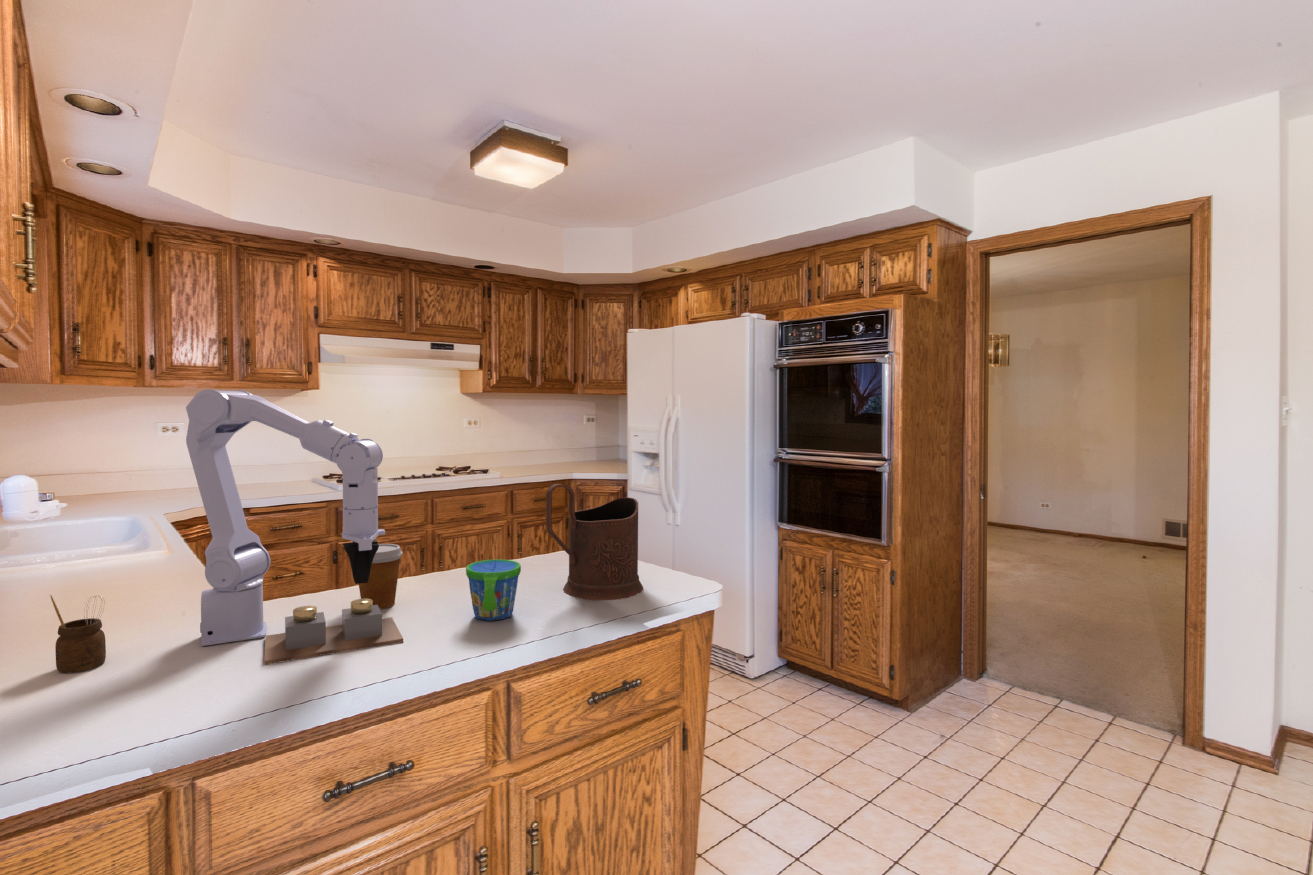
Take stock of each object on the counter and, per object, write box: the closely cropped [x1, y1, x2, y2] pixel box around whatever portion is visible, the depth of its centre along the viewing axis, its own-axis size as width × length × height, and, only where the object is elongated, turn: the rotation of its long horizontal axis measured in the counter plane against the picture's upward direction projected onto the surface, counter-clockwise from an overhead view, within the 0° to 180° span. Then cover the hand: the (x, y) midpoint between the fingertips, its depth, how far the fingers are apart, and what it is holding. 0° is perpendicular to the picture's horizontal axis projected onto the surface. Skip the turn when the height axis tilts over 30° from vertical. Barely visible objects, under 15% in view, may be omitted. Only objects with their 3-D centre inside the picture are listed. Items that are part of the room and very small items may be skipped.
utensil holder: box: [49, 595, 107, 674], centre depth 103 cm, size 6×6×12 cm
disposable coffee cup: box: [358, 543, 403, 610], centre depth 136 cm, size 10×10×12 cm
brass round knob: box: [350, 598, 373, 614], centre depth 118 cm, size 4×4×6 cm
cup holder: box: [545, 483, 644, 601], centre depth 148 cm, size 18×24×25 cm
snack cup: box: [465, 559, 522, 622], centre depth 130 cm, size 16×10×10 cm
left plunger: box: [292, 605, 318, 621], centre depth 113 cm, size 4×4×6 cm
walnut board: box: [264, 617, 404, 665], centre depth 116 cm, size 21×13×1 cm, turn 120°
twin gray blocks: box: [284, 605, 383, 650], centre depth 115 cm, size 15×6×4 cm, turn 120°
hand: (361, 582), depth 117 cm, fingers closed
